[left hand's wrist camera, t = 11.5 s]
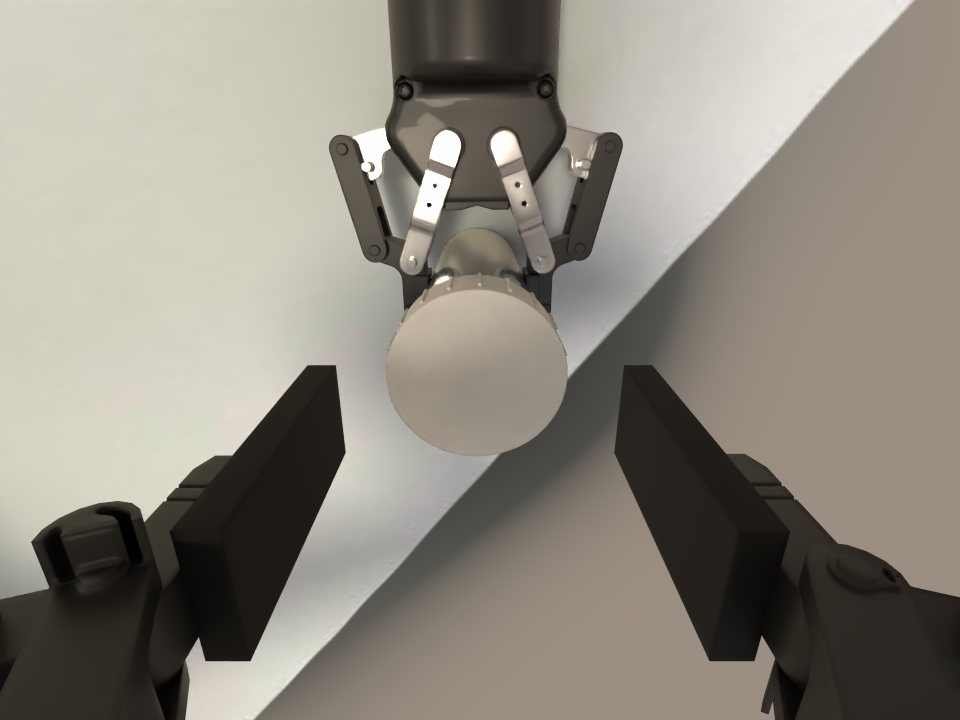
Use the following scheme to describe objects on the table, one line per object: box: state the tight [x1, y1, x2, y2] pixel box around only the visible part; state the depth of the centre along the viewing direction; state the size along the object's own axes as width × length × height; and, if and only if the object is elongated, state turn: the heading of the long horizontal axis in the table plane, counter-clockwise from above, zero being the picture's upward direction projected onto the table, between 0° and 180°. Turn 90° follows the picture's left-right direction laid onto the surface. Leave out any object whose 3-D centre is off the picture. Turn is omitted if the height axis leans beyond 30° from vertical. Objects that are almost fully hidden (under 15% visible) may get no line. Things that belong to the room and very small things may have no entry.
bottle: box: [427, 228, 528, 291], centre depth 25 cm, size 5×5×17 cm
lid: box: [386, 273, 567, 456], centre depth 17 cm, size 6×6×2 cm
